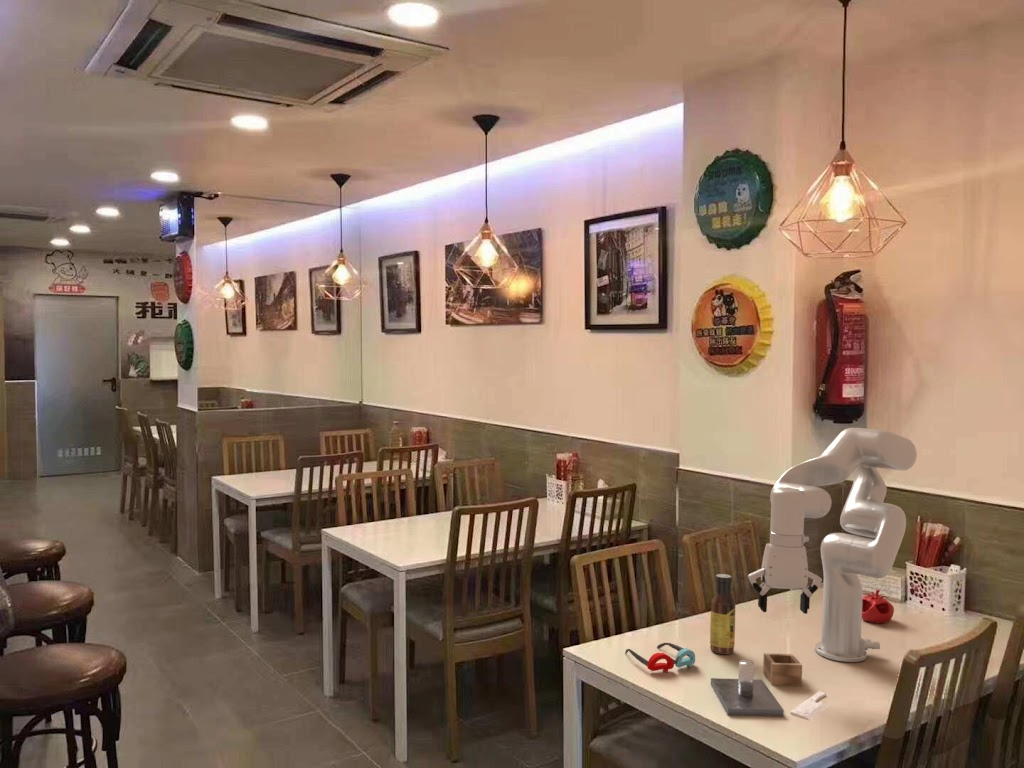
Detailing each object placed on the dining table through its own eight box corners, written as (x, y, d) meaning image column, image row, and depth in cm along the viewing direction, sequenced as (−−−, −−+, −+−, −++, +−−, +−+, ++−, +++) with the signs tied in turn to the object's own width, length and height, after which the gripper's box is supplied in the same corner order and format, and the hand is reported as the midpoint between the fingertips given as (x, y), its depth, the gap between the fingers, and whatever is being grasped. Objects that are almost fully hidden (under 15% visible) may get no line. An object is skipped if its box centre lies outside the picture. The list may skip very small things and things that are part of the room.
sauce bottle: (735, 656, 208) (737, 580, 207) (710, 654, 209) (712, 578, 209) (733, 647, 215) (735, 573, 214) (709, 645, 216) (711, 571, 215)
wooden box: (791, 674, 197) (792, 654, 197) (801, 686, 190) (802, 665, 190) (763, 673, 197) (763, 653, 197) (771, 685, 190) (772, 664, 190)
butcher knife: (840, 701, 183) (840, 697, 183) (812, 723, 172) (812, 718, 172) (818, 694, 187) (818, 689, 186) (789, 715, 176) (789, 710, 176)
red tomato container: (860, 613, 246) (861, 583, 246) (896, 619, 240) (897, 588, 240) (853, 621, 238) (854, 589, 238) (889, 628, 232) (890, 595, 232)
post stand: (761, 685, 190) (762, 650, 190) (783, 716, 174) (784, 677, 174) (710, 684, 190) (711, 648, 190) (727, 715, 174) (728, 676, 174)
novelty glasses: (652, 677, 195) (652, 657, 194) (618, 656, 208) (619, 637, 208) (698, 669, 201) (699, 649, 200) (663, 648, 214) (663, 630, 214)
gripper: (817, 538, 196) (814, 607, 197) (745, 535, 196) (742, 605, 197) (828, 545, 189) (825, 617, 189) (754, 542, 189) (751, 614, 189)
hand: (783, 611), depth 193 cm, fingers open, 9 cm apart
